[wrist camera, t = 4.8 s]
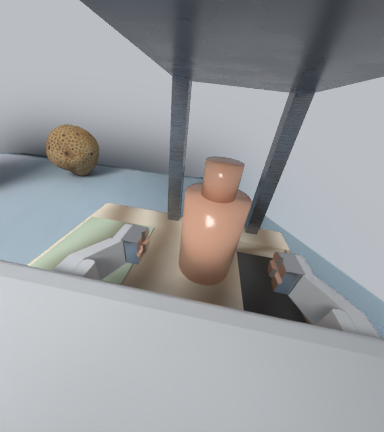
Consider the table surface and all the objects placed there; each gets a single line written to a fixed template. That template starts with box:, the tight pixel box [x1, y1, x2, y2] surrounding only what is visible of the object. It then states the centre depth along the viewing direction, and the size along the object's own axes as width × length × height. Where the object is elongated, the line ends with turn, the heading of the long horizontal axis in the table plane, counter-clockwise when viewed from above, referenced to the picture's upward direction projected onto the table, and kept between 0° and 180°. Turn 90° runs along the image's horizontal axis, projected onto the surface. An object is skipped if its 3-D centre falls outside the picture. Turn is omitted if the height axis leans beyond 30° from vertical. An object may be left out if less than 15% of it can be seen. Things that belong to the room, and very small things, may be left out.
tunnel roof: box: [80, 0, 384, 235], centre depth 13 cm, size 12×15×16 cm
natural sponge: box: [46, 125, 99, 176], centre depth 34 cm, size 9×9×10 cm
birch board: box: [28, 203, 312, 325], centre depth 17 cm, size 25×16×2 cm, turn 82°
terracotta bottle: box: [179, 157, 252, 285], centre depth 14 cm, size 5×5×10 cm
